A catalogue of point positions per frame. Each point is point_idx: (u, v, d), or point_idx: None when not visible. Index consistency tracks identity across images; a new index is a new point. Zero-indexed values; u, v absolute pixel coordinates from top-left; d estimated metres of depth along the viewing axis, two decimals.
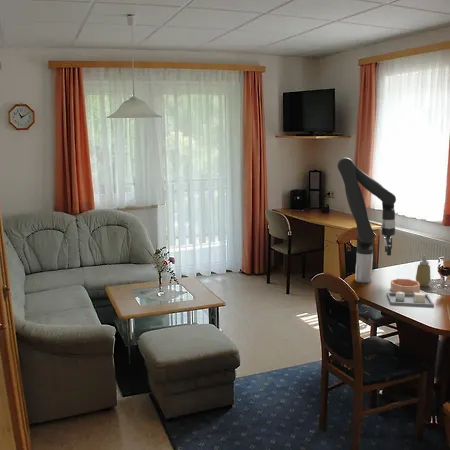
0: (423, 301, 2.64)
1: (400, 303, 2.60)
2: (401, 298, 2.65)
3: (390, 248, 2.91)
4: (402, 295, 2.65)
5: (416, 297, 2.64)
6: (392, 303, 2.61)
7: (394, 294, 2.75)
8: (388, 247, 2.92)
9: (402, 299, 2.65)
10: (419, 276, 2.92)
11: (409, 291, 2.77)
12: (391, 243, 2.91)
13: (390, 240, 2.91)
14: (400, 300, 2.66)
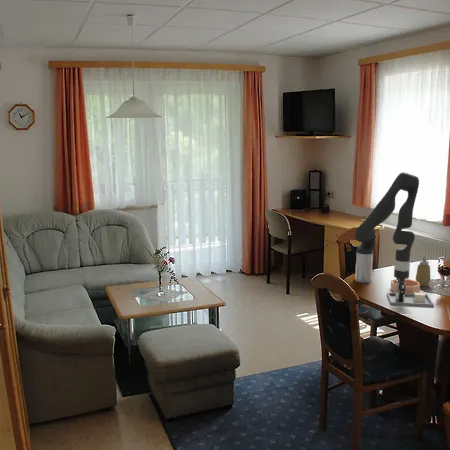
0: (423, 301, 2.64)
1: (400, 303, 2.60)
2: None
3: (403, 294, 2.62)
4: None
5: (416, 297, 2.64)
6: (392, 303, 2.61)
7: (394, 294, 2.75)
8: (400, 293, 2.62)
9: None
10: (419, 276, 2.92)
11: (409, 291, 2.77)
12: (404, 290, 2.60)
13: (403, 287, 2.60)
14: None
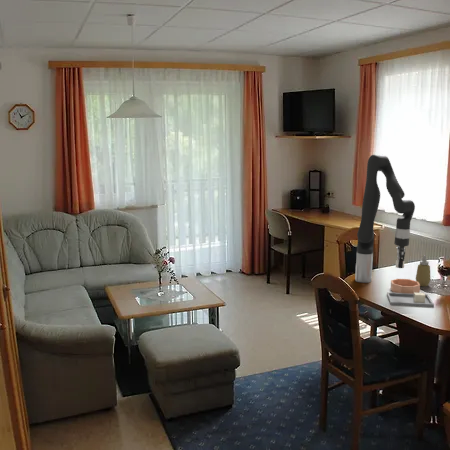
0: (423, 301, 2.64)
1: (400, 303, 2.60)
2: None
3: (402, 260, 2.74)
4: None
5: (416, 297, 2.64)
6: (392, 303, 2.61)
7: (394, 294, 2.75)
8: (400, 259, 2.74)
9: None
10: (419, 276, 2.92)
11: (409, 291, 2.77)
12: (404, 256, 2.72)
13: (403, 253, 2.72)
14: None
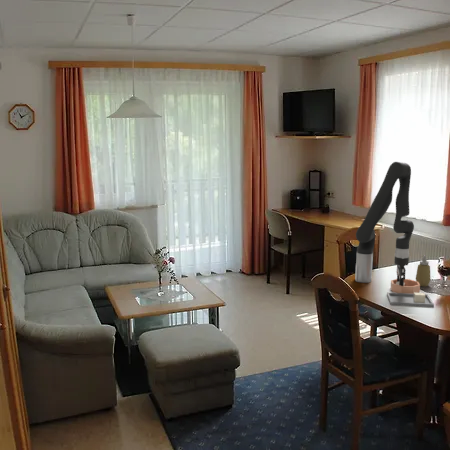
0: (423, 301, 2.64)
1: (400, 303, 2.60)
2: None
3: (403, 279, 2.76)
4: None
5: (416, 297, 2.64)
6: (392, 303, 2.61)
7: (394, 294, 2.75)
8: (401, 278, 2.77)
9: None
10: (419, 276, 2.92)
11: (409, 291, 2.77)
12: (404, 274, 2.76)
13: (403, 271, 2.76)
14: None
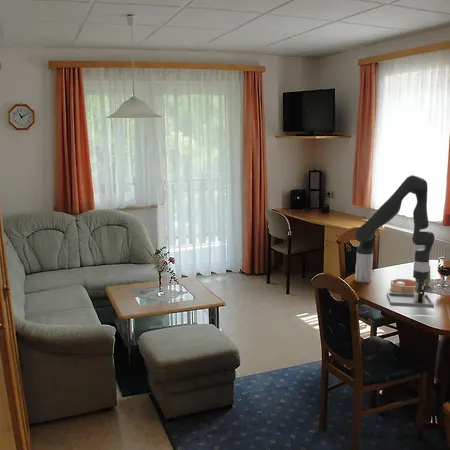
0: (423, 301, 2.64)
1: (400, 303, 2.60)
2: None
3: (422, 295, 2.60)
4: (402, 285, 2.82)
5: (416, 297, 2.64)
6: (392, 303, 2.61)
7: (394, 294, 2.75)
8: (420, 294, 2.60)
9: None
10: None
11: (409, 291, 2.77)
12: (424, 291, 2.59)
13: (423, 288, 2.58)
14: None
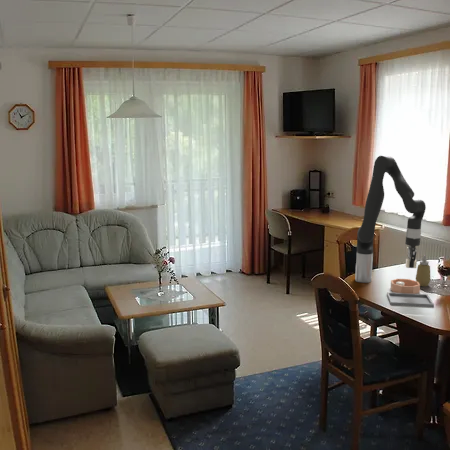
0: (414, 267, 2.77)
1: (400, 303, 2.60)
2: None
3: (413, 260, 2.74)
4: (402, 285, 2.82)
5: (408, 263, 2.78)
6: (392, 303, 2.61)
7: (394, 294, 2.75)
8: None
9: None
10: (419, 276, 2.92)
11: (409, 291, 2.77)
12: (415, 256, 2.72)
13: (414, 253, 2.72)
14: None
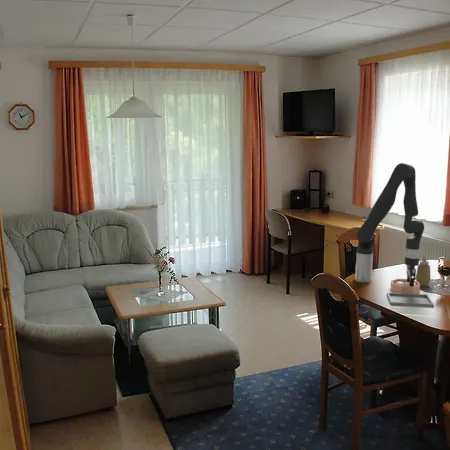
0: None
1: (400, 303, 2.60)
2: None
3: (413, 279, 2.75)
4: (402, 285, 2.82)
5: None
6: (392, 303, 2.61)
7: (394, 294, 2.75)
8: (411, 278, 2.76)
9: None
10: (419, 276, 2.92)
11: (409, 291, 2.77)
12: (415, 274, 2.75)
13: (414, 271, 2.75)
14: None
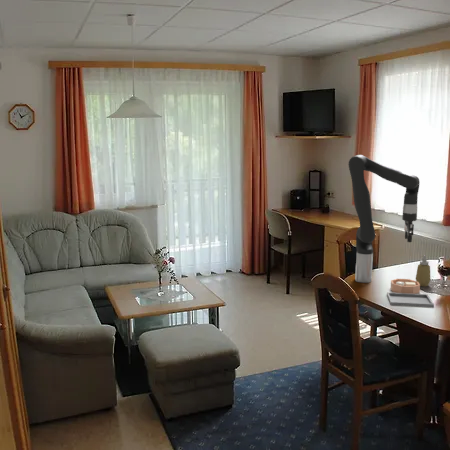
0: None
1: (400, 303, 2.60)
2: None
3: (411, 234, 2.76)
4: (402, 285, 2.82)
5: None
6: (392, 303, 2.61)
7: (394, 294, 2.75)
8: (409, 233, 2.76)
9: None
10: (419, 276, 2.92)
11: (409, 291, 2.77)
12: (413, 229, 2.75)
13: (412, 226, 2.75)
14: None
